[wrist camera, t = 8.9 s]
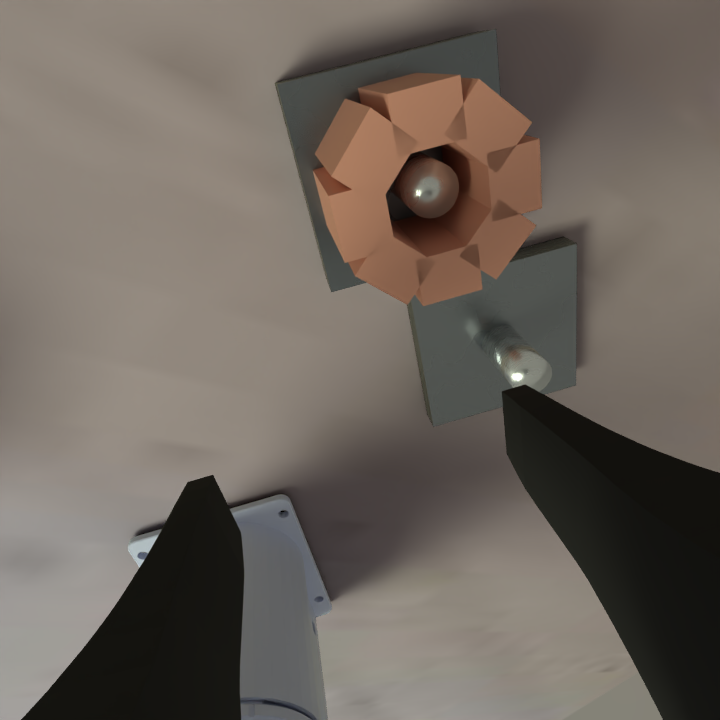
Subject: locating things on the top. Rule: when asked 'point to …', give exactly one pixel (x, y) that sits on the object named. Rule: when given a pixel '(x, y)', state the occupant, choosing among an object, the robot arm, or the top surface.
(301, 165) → the square peg base
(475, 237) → the ring
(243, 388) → the top surface
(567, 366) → the stand
